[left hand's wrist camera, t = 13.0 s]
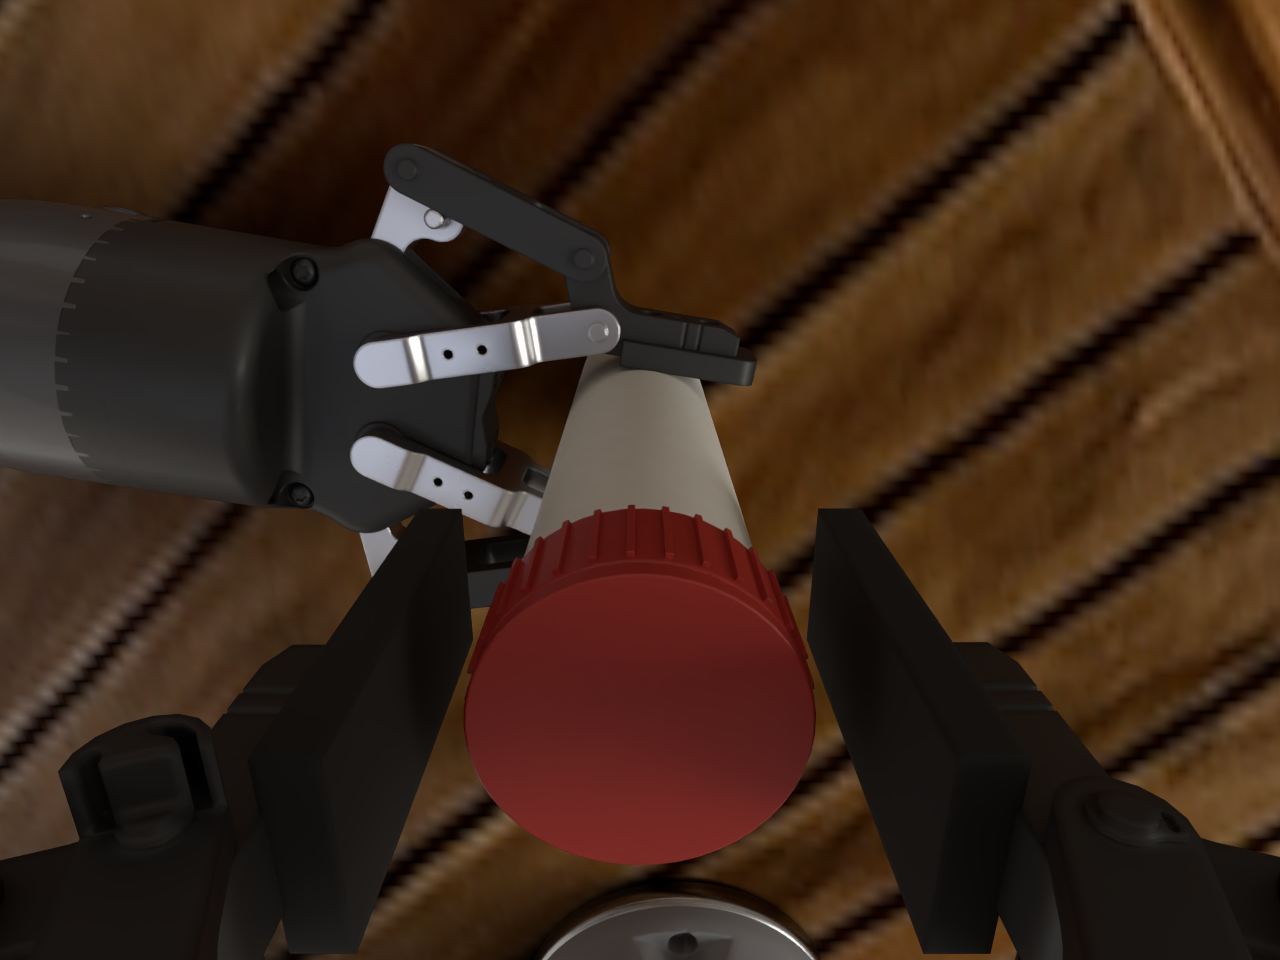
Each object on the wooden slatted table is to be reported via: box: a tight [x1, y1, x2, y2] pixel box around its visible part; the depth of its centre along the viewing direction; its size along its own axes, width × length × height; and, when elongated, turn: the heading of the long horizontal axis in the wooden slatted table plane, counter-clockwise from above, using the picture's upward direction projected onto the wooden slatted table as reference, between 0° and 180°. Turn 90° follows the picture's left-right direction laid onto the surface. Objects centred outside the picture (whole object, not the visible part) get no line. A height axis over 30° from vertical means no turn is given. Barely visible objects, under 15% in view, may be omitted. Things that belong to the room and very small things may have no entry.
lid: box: [464, 505, 816, 865], centre depth 11 cm, size 5×5×2 cm
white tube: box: [524, 354, 752, 556], centre depth 20 cm, size 4×4×19 cm
